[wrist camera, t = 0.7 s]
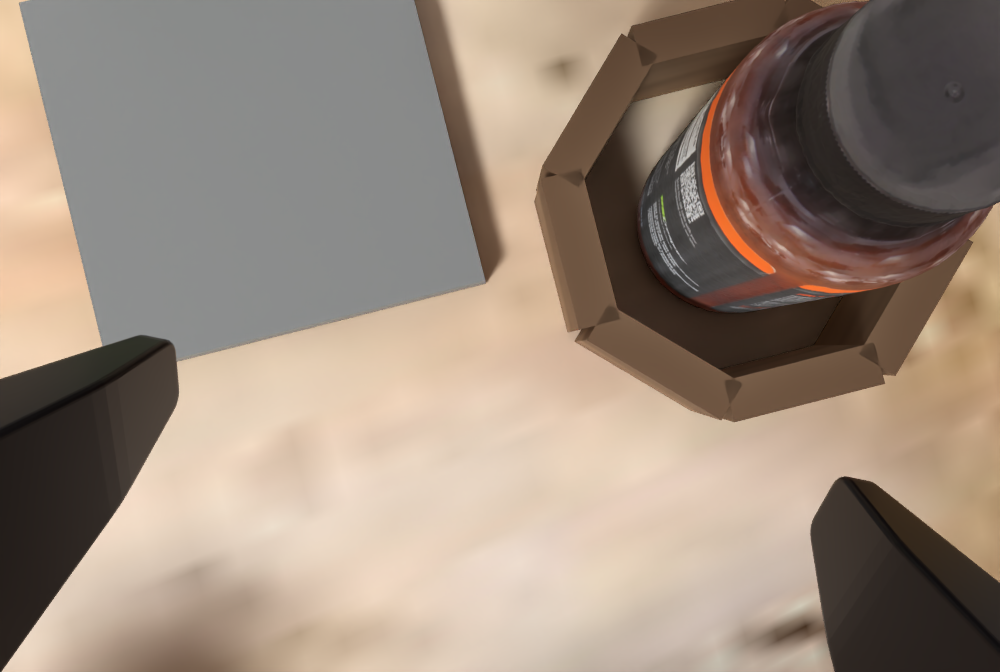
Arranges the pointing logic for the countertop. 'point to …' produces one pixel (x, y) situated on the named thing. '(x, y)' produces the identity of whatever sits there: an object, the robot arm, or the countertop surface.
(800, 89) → the supplement bottle
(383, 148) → the pad
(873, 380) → the collar ring
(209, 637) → the countertop surface
